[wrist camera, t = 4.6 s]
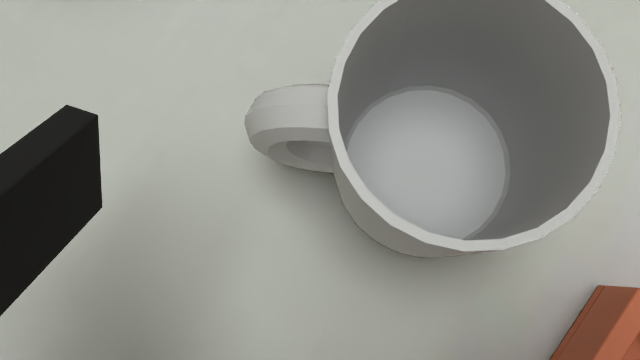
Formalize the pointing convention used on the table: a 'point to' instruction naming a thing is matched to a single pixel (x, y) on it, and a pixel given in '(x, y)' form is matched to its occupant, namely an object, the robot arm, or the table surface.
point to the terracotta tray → (605, 327)
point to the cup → (454, 123)
